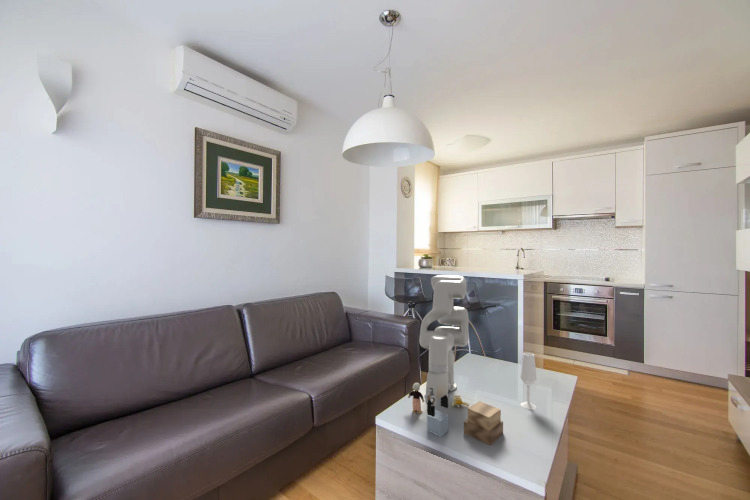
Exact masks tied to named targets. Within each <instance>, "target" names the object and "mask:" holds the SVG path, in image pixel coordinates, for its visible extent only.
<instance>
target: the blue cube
mask: <svg viewBox="0 0 750 500" xmlns="http://www.w3.org/2000/svg"><path fill="white" fill-rule="evenodd" d="M426 418H427V419H426V420H427V421H426V424H427V425H426V426H427V427H426V430H428V432H430V433H432V434H434V433H435V434H434V435H436V434H437V436H438V437H442V436H443V435H444V434H446V433H447V432H449V415H448V414H446V413H444V412H441V411H438V410H436V409H435V416H434V417H433V416H430V415H428V414H427V416H426ZM441 435H442V436H441Z"/></svg>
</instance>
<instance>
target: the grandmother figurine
mask: <svg viewBox="0 0 750 500" xmlns="http://www.w3.org/2000/svg"><path fill="white" fill-rule="evenodd" d="M411 388H412V389H413V390H412V391H410V392H409V393H408V397H407V399H410V398H411V397H412V413H414V414H416V413H417V414H418V415H421V414H423V410H422V405H421V404H422V403H425V398H424V395H423V394H422V393H421V392H420V388H421V384H420V383H419V382H414V384H413V385H412V387H411ZM421 402H422V403H421Z"/></svg>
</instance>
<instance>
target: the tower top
mask: <svg viewBox="0 0 750 500" xmlns="http://www.w3.org/2000/svg"><path fill="white" fill-rule="evenodd" d="M501 411H502V410H501V409H500V408H497V407H496V406H494V405H493V406H492V405H490V404H488V403H486V402H482V401H478V402H476V403H474V404H472V405H471V406H469V407H467V419H468V421H469V422H471V423H473V424H475V425H477V426H480V427H482V428H484V429H486V430H488V431H489V430H491V429H492V428H493V427H495V426H496V425H498V424H499V423H500V422H501V421H502V419H501V418H502V417H501V415H502V414H501V413H502V412H501Z"/></svg>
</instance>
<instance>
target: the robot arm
mask: <svg viewBox="0 0 750 500" xmlns="http://www.w3.org/2000/svg"><path fill="white" fill-rule="evenodd" d="M430 284H431V288H432V290H433V295H432V297H433V298H432V300H433V301H432V309H431V310H430V311H429V312H427V314H425V316H424V317H423V319H422V321H421V324H420V330H419V344H420V347H422V348H423V349H426V350H427V349H428V372H427V376H426V382H425V383H426V385H425V386H426V388H425V394H424V395H423V398H424V403H425V404H426V408H427V409H426V414H427V415H430V416H433V417H434V416H435V410H436V406H435V403H436V401H438V400H439V399H440V407H442V408H445V409H449V397H450V392H453V391H456V389H458V388H457V386H458V385H457V383H455V376H454V375H455V353H454V351H453V347H467V346H468V343H469V312H468V309H467V308H465V307H464V306H463V307H462V306H454V299H456V300H457V299H459V300H463V299H465V297H466V295H467V279H466V278H465V277H464V276H462V275H440V274H439V275H434V276H432V277H431V278H430ZM435 321H437V322H438V323H439V324H441V325H443V326H437V327H435V329H434V330H428V327H429V325H430V324H431V323H434V322H435Z"/></svg>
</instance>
